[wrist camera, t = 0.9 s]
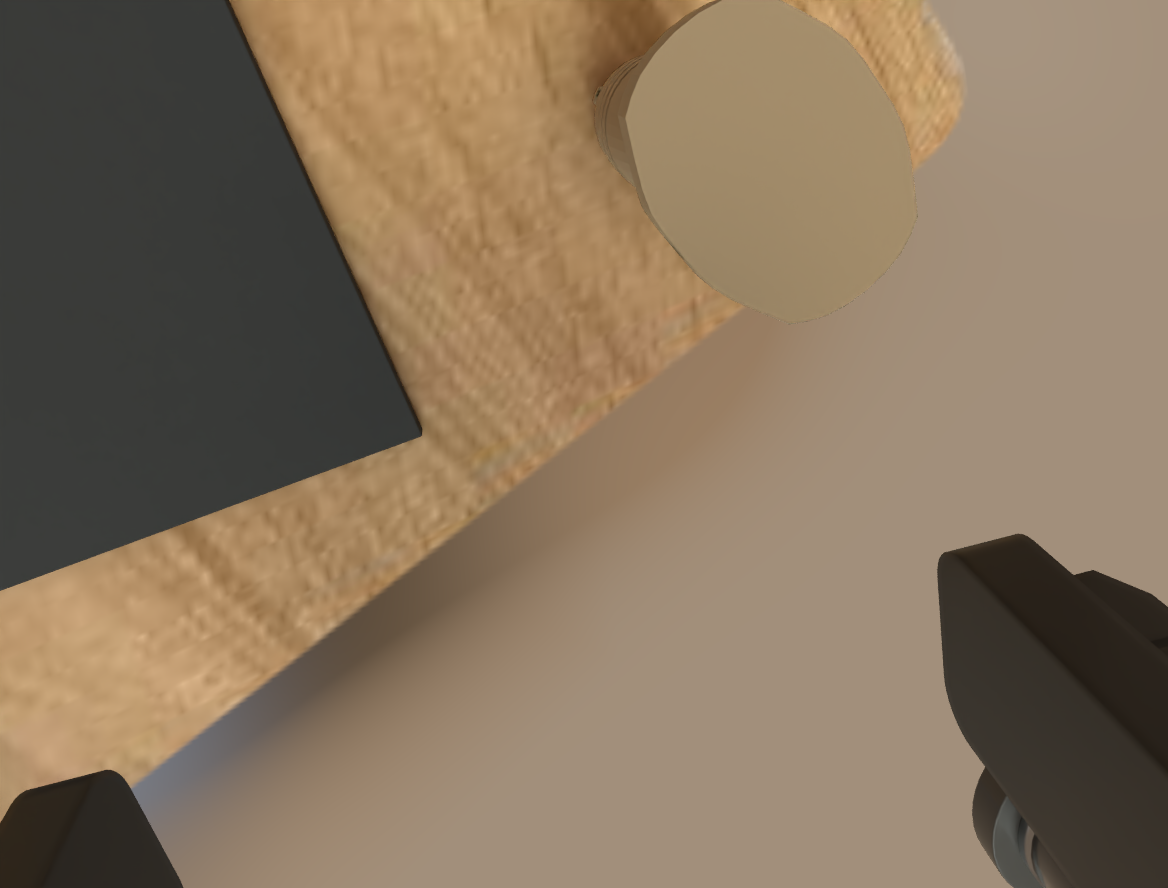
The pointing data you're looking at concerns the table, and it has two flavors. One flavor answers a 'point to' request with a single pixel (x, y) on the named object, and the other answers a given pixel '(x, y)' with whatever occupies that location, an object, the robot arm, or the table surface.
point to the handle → (764, 156)
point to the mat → (163, 286)
